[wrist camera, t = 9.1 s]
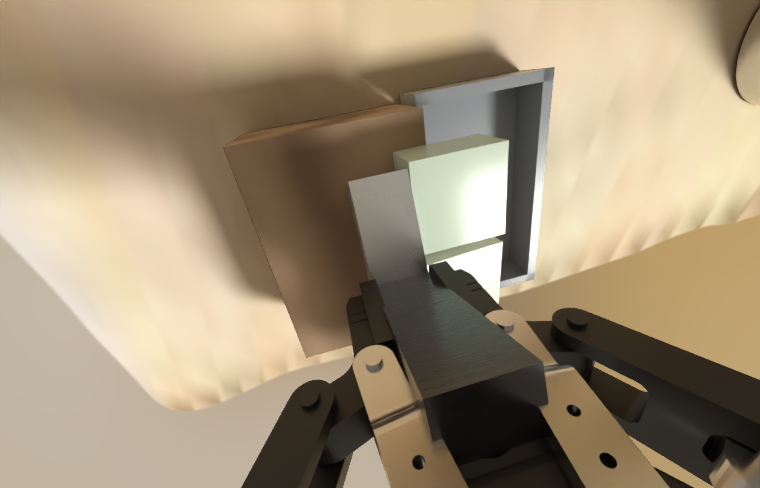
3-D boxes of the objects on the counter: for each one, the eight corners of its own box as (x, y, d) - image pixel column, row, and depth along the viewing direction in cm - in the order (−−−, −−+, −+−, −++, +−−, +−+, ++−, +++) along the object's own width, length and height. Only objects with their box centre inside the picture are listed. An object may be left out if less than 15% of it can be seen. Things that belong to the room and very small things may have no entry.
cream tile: (473, 224, 18) (502, 241, 16) (472, 287, 20) (498, 309, 18) (403, 245, 17) (424, 266, 15) (410, 309, 19) (429, 335, 17)
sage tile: (478, 133, 15) (509, 140, 13) (478, 215, 17) (504, 233, 15) (392, 151, 15) (408, 162, 12) (403, 235, 17) (419, 256, 14)
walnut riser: (395, 103, 18) (422, 107, 14) (417, 279, 24) (441, 320, 20) (244, 133, 17) (222, 147, 13) (306, 308, 24) (306, 357, 19)
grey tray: (520, 70, 19) (554, 67, 16) (511, 259, 26) (534, 278, 23) (399, 93, 18) (414, 94, 16) (421, 283, 25) (435, 305, 22)
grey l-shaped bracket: (395, 173, 15) (511, 127, 5) (439, 386, 17) (581, 638, 7) (345, 184, 15) (369, 158, 5) (397, 399, 17) (485, 679, 7)
